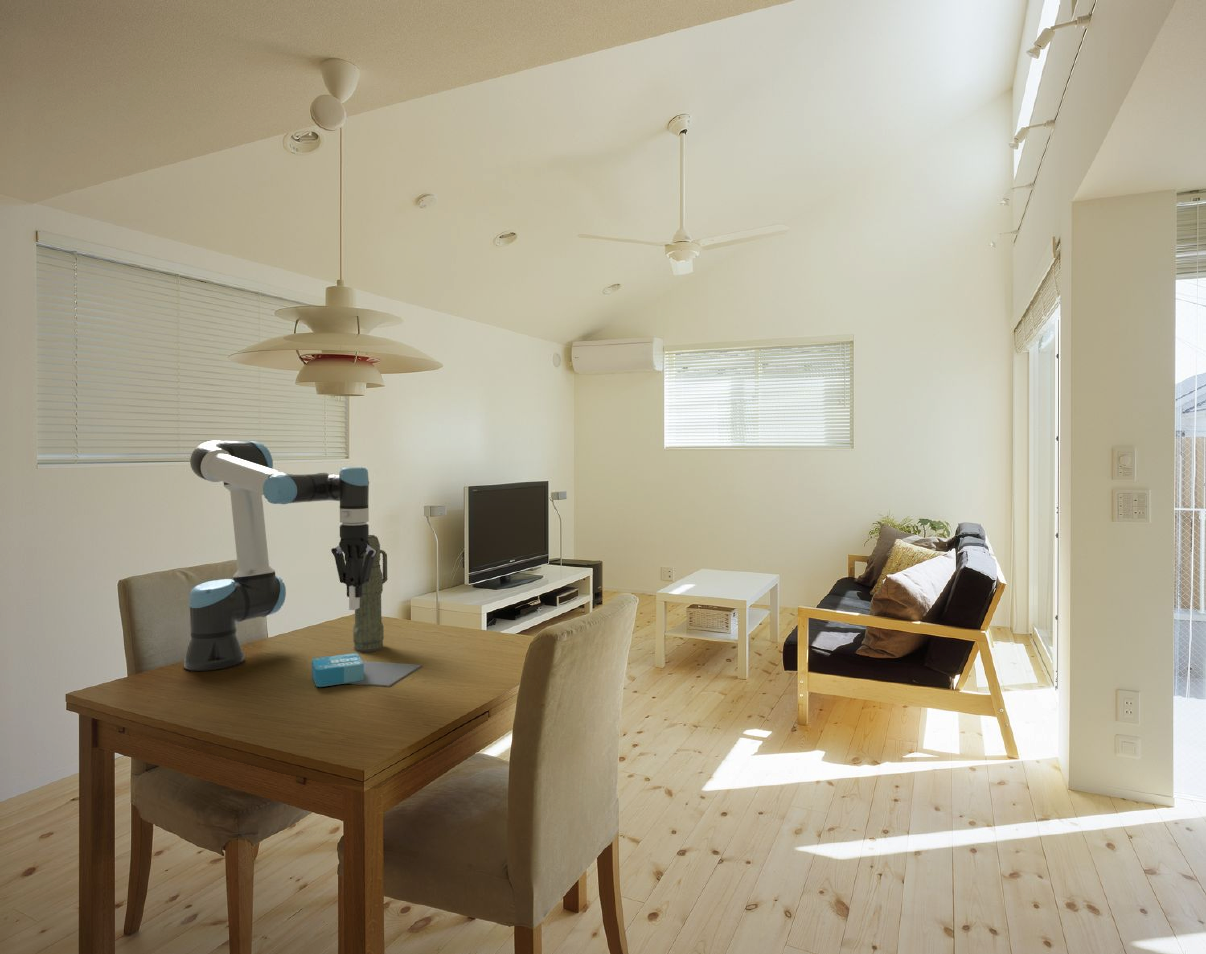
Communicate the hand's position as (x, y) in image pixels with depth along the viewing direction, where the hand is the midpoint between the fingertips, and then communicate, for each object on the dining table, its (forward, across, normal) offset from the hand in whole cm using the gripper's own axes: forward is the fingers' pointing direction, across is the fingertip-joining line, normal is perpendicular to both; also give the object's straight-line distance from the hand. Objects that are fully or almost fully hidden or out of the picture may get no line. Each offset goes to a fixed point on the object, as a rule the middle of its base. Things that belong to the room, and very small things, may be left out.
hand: (354, 608), depth 196 cm
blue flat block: (+15, -5, -2) cm, 16 cm away
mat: (+18, +6, 0) cm, 19 cm away
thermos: (+18, -9, +23) cm, 31 cm away
